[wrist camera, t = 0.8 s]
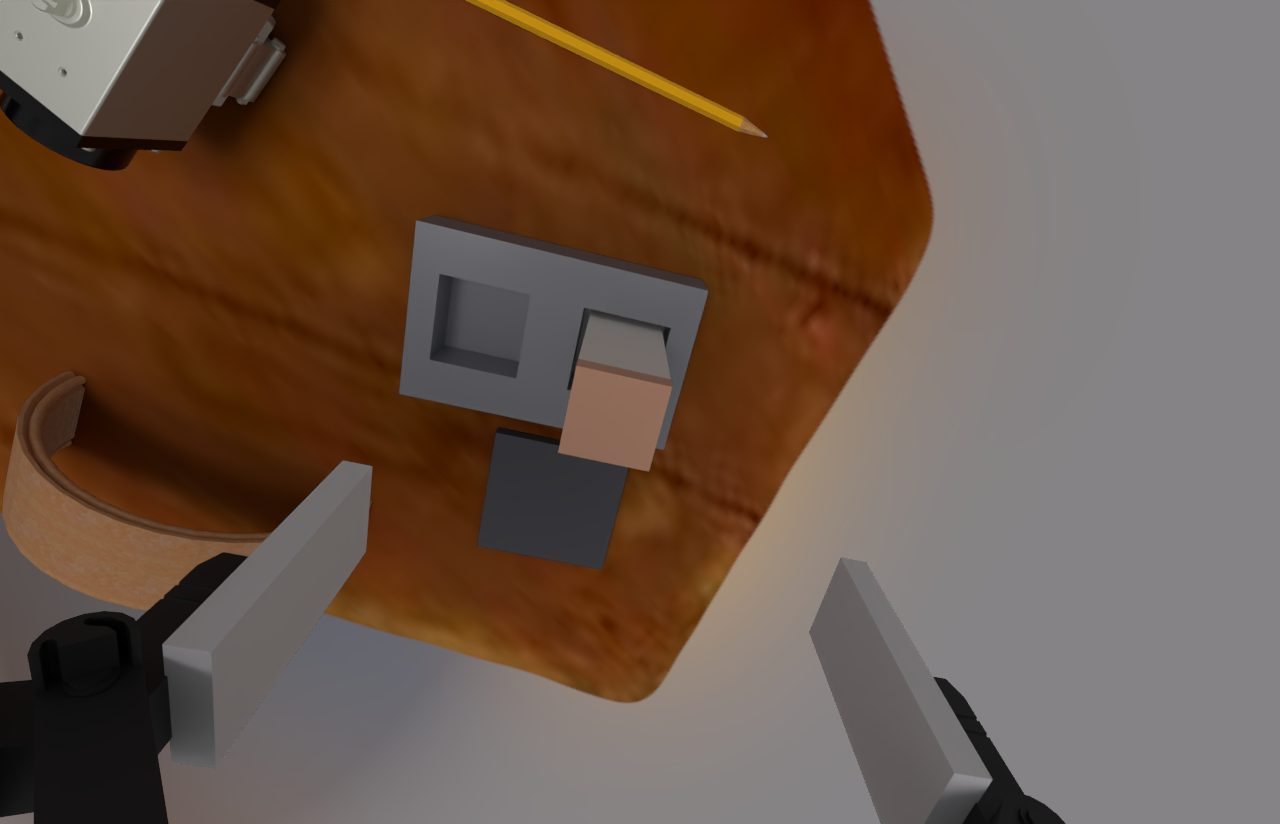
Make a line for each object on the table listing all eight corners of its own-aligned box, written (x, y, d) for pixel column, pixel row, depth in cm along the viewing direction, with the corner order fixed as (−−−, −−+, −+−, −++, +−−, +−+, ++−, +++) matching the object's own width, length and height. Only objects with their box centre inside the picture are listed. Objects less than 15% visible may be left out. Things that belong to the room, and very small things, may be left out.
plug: (579, 368, 38) (558, 452, 27) (592, 304, 37) (576, 365, 26) (643, 383, 39) (648, 471, 28) (660, 320, 37) (672, 387, 26)
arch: (72, 366, 39) (-104, 431, 29) (374, 500, 43) (303, 593, 33) (55, 439, 41) (-115, 521, 31) (346, 560, 44) (271, 665, 35)
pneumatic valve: (347, -2, 31) (190, -93, 20) (226, 172, 34) (32, 176, 23) (251, -97, 30) (25, -252, 19) (134, 94, 33) (-121, 59, 22)
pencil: (436, -32, 31) (432, -37, 30) (770, 130, 34) (773, 129, 34) (431, -15, 31) (427, -19, 31) (763, 144, 34) (766, 144, 34)
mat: (479, 539, 44) (476, 546, 43) (498, 427, 40) (495, 432, 40) (602, 563, 45) (602, 569, 44) (630, 455, 41) (630, 460, 41)
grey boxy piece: (418, 374, 39) (399, 393, 36) (435, 215, 35) (416, 220, 32) (661, 427, 41) (663, 449, 37) (701, 279, 37) (708, 290, 34)
